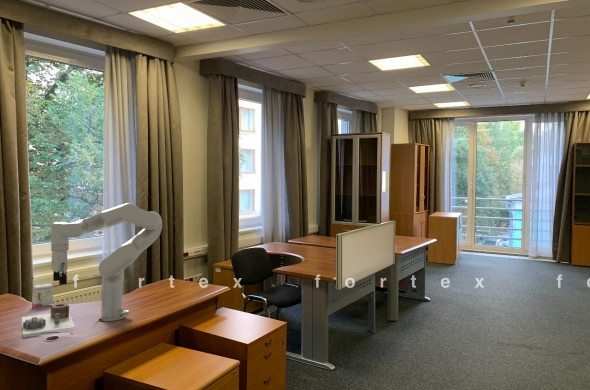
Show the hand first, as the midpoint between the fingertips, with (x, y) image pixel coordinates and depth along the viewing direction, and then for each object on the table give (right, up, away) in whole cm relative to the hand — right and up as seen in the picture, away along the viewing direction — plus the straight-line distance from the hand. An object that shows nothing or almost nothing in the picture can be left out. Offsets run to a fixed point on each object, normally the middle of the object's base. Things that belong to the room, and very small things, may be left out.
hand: (59, 282), depth 210 cm
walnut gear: (0, -17, 0) cm, 17 cm away
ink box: (-19, -17, +19) cm, 32 cm away
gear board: (-2, -19, -8) cm, 20 cm away
